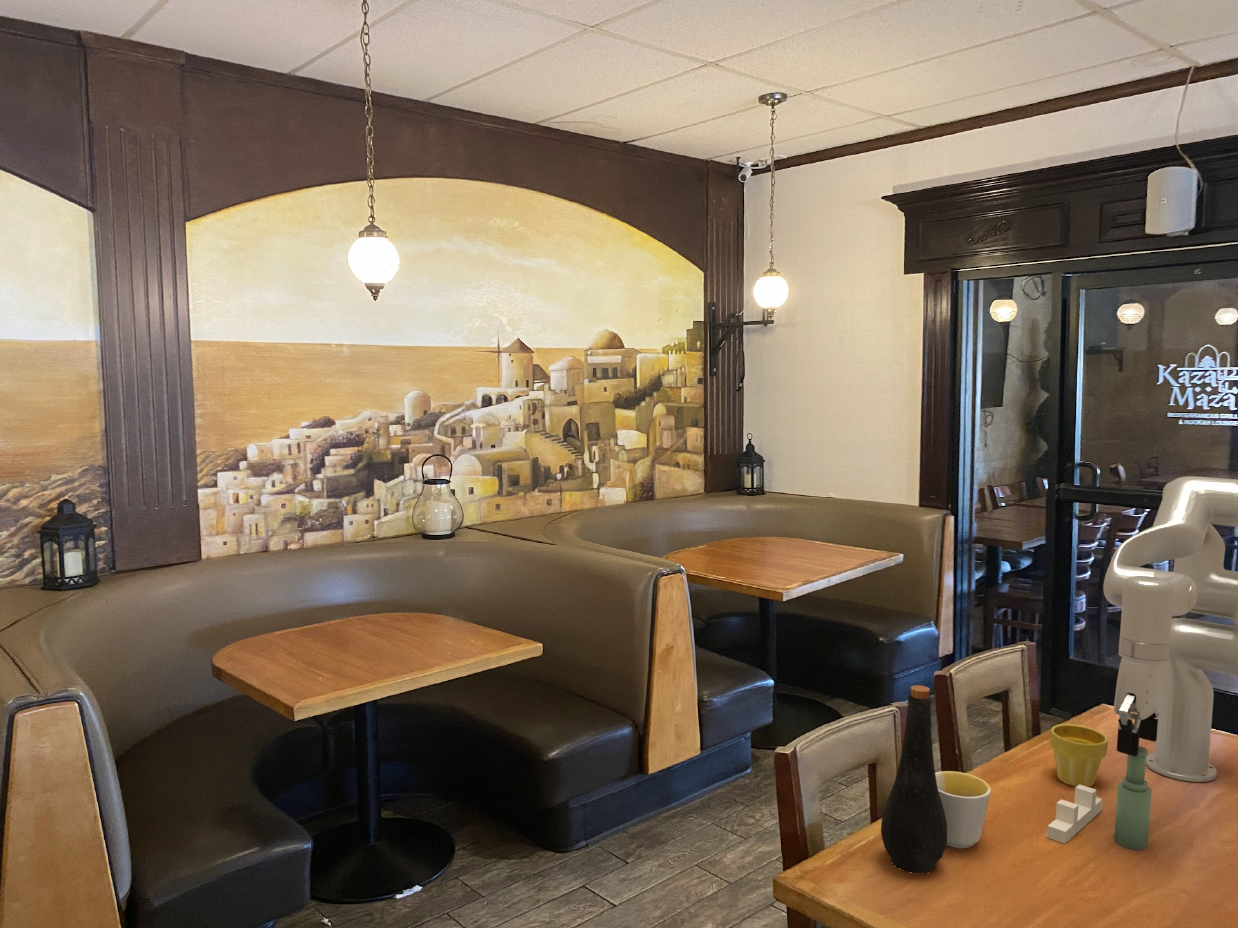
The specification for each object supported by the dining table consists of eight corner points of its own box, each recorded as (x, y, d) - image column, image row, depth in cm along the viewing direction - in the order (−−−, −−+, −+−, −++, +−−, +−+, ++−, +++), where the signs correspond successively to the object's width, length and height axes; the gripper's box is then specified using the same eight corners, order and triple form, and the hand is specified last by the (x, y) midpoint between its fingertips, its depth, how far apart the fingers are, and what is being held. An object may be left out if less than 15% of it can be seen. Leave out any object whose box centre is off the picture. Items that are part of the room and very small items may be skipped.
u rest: (1084, 804, 178) (1086, 778, 177) (1101, 810, 175) (1103, 783, 175) (1047, 837, 165) (1048, 809, 165) (1064, 843, 163) (1066, 815, 162)
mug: (962, 861, 157) (965, 801, 156) (913, 835, 165) (915, 778, 164) (1012, 840, 164) (1015, 782, 163) (963, 816, 173) (965, 761, 172)
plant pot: (1116, 790, 184) (1120, 742, 183) (1068, 793, 182) (1071, 744, 181) (1083, 767, 194) (1086, 722, 193) (1037, 770, 193) (1040, 724, 192)
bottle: (950, 883, 150) (959, 702, 147) (882, 875, 152) (889, 696, 149) (941, 849, 161) (949, 680, 157) (877, 843, 163) (884, 675, 159)
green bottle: (1119, 831, 167) (1126, 740, 166) (1152, 842, 164) (1158, 748, 162) (1109, 842, 164) (1115, 748, 162) (1142, 853, 160) (1148, 757, 158)
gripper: (1136, 635, 169) (1130, 727, 170) (1102, 653, 157) (1095, 752, 158) (1183, 644, 163) (1176, 739, 165) (1151, 664, 151) (1144, 766, 153)
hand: (1136, 746), depth 161 cm, fingers open, 9 cm apart
